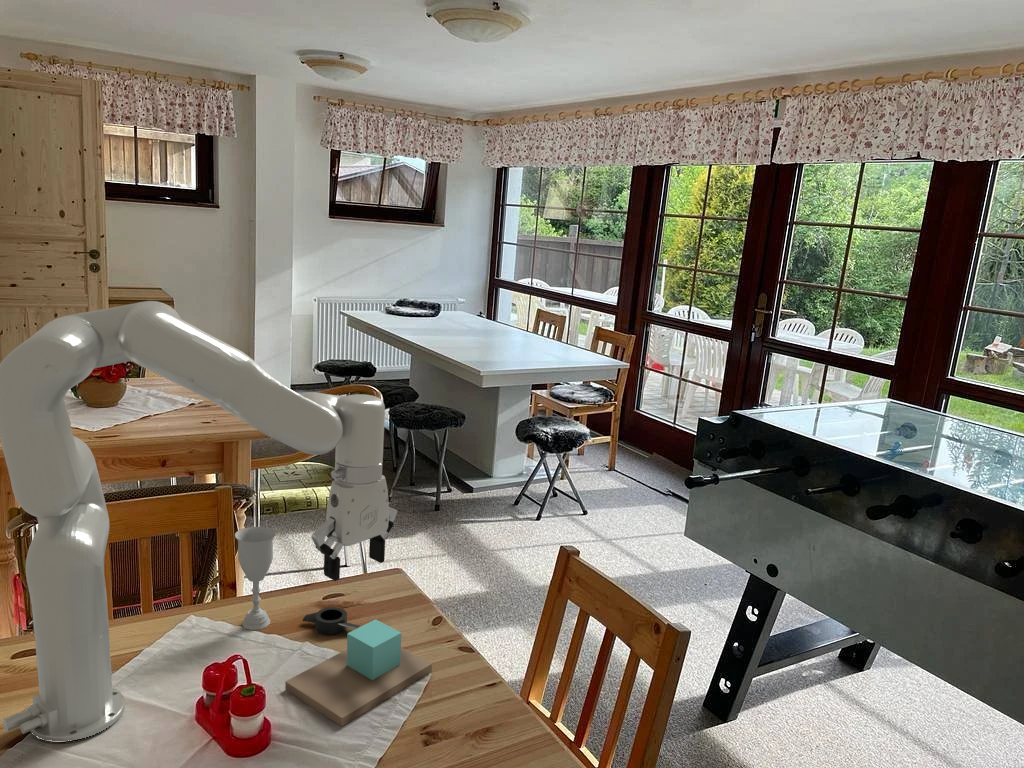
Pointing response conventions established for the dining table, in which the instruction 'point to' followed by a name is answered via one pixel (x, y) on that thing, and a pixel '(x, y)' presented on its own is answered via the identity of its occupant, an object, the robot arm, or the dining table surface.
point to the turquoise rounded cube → (373, 649)
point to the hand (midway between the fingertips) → (354, 568)
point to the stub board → (353, 685)
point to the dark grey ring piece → (330, 621)
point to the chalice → (255, 568)
